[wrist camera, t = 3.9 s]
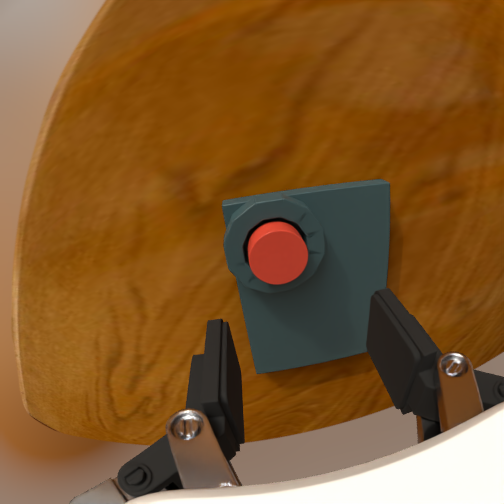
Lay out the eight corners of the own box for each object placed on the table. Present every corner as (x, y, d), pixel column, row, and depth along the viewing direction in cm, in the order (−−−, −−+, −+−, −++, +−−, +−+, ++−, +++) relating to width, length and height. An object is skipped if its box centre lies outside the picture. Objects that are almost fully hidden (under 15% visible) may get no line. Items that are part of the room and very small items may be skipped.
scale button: (243, 225, 18) (244, 235, 17) (299, 216, 18) (306, 225, 17) (252, 275, 20) (253, 289, 18) (304, 266, 20) (310, 279, 18)
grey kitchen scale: (218, 197, 20) (215, 209, 18) (381, 175, 20) (401, 184, 17) (253, 364, 27) (255, 387, 24) (373, 340, 27) (384, 359, 24)
